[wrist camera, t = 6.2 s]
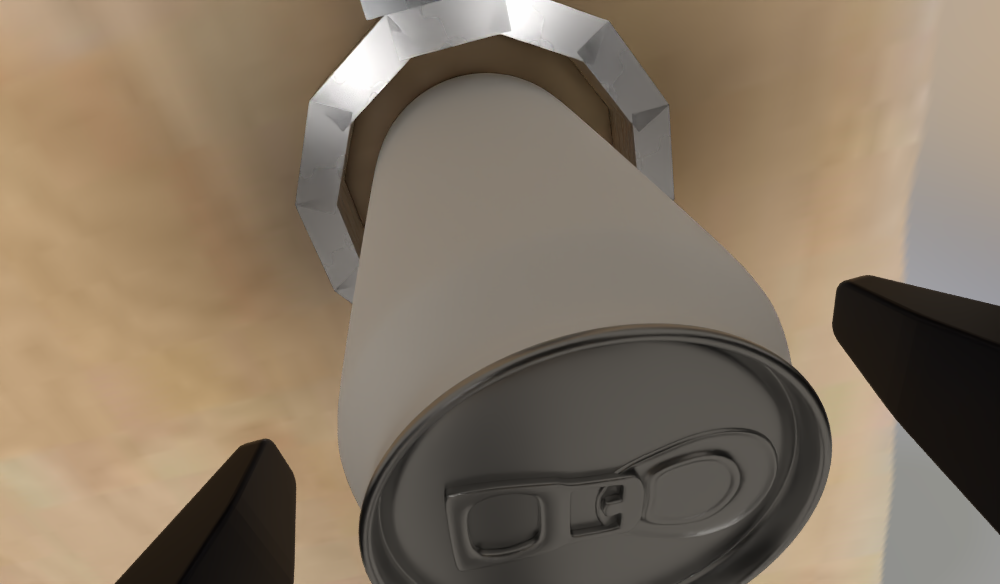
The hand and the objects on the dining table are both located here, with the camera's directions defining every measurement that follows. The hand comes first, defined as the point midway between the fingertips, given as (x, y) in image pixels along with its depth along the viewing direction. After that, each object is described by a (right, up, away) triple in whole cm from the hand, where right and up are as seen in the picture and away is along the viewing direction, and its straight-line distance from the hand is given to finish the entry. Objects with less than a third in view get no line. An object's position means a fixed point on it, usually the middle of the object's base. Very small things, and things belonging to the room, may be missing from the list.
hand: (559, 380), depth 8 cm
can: (-1, +5, +8) cm, 10 cm away
